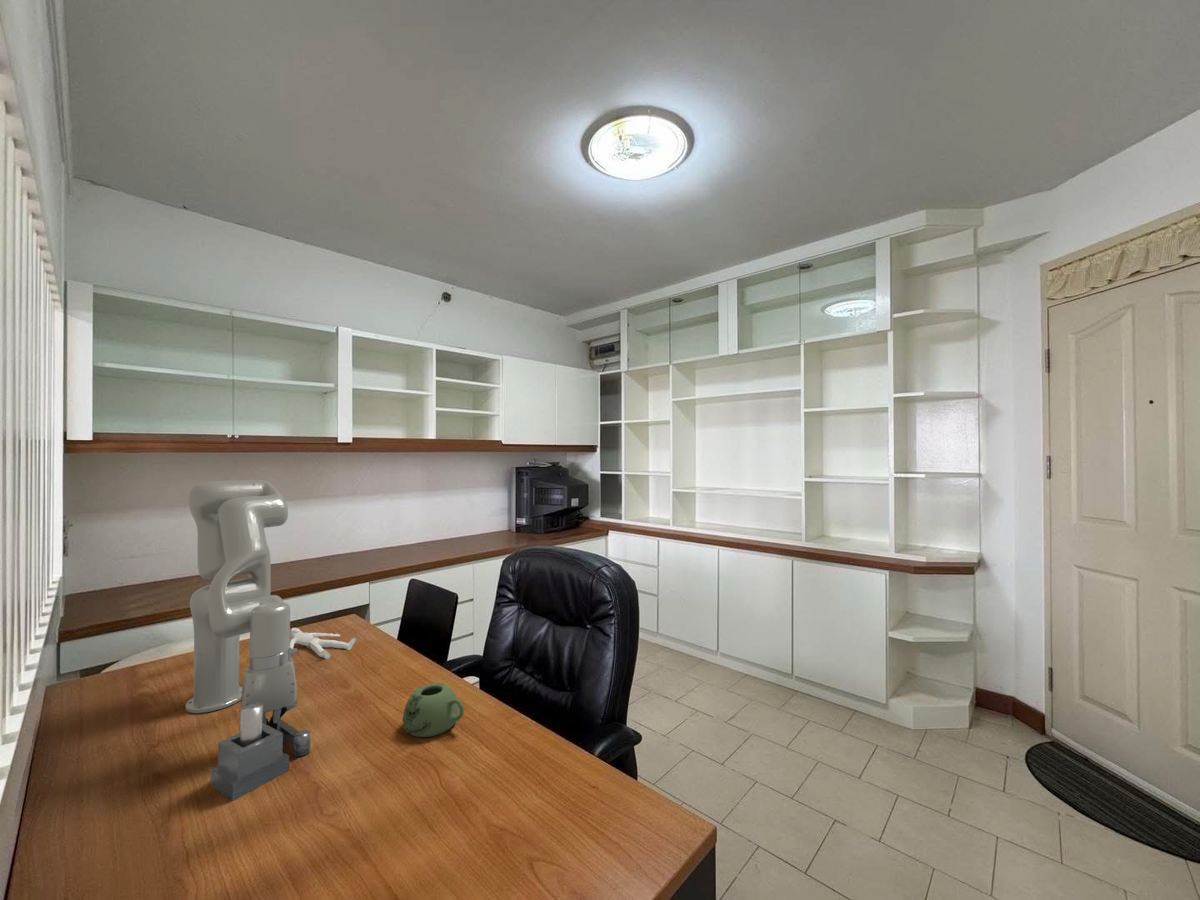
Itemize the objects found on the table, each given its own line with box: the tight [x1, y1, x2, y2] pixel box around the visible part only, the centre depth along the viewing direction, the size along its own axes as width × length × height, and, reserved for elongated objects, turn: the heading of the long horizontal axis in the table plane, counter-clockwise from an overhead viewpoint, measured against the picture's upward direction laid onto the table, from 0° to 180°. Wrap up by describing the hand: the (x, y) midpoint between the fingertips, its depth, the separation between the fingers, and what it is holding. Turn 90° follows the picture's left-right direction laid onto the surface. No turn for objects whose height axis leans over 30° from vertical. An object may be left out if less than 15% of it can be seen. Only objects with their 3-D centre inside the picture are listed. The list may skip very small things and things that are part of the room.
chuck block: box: [210, 723, 290, 801], centre depth 95 cm, size 9×10×8 cm
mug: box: [402, 682, 465, 738], centre depth 113 cm, size 16×13×9 cm
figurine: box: [290, 627, 357, 660], centre depth 162 cm, size 6×19×25 cm
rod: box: [239, 703, 263, 748], centre depth 95 cm, size 4×4×11 cm
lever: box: [277, 718, 311, 758], centre depth 107 cm, size 16×3×4 cm, turn 56°
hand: (269, 739), depth 106 cm, fingers closed
